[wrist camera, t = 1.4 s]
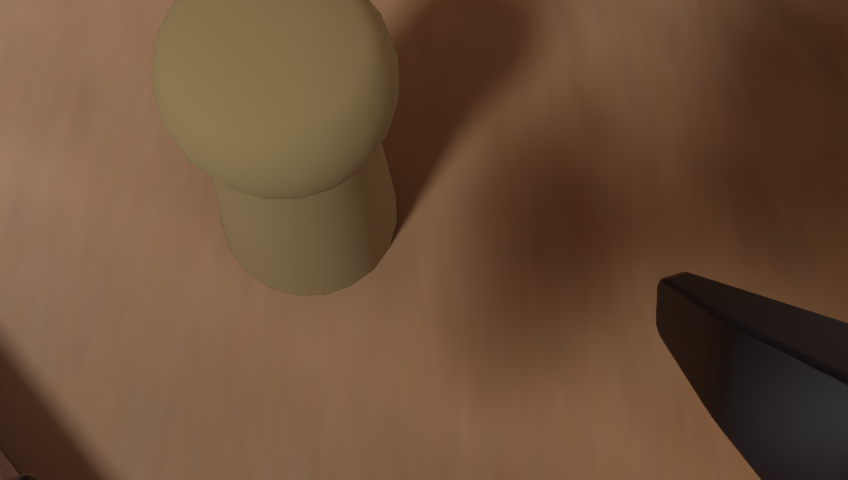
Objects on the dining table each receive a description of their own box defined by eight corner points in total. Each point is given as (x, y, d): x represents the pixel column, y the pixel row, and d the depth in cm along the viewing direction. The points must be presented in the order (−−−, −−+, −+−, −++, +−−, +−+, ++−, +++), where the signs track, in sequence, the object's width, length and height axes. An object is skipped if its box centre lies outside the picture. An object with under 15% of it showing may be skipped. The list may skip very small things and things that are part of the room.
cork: (311, 98, 25) (273, -147, 14) (432, 208, 24) (488, 37, 13) (184, 211, 23) (35, 32, 13) (310, 333, 22) (263, 250, 12)
